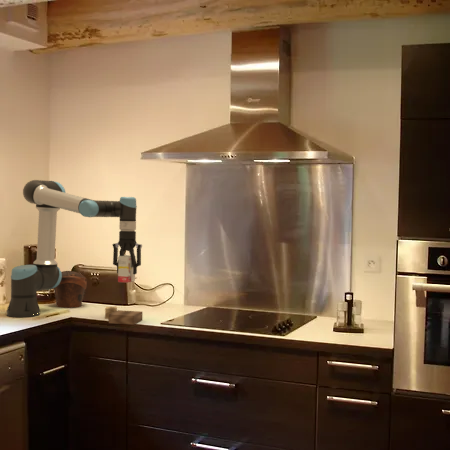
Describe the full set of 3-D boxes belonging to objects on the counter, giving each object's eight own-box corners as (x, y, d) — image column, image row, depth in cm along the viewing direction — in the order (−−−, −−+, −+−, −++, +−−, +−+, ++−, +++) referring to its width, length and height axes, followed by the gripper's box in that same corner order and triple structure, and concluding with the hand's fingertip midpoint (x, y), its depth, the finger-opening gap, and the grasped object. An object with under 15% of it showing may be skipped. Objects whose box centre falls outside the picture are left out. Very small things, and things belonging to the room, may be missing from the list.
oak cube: (105, 318, 295) (105, 308, 295) (106, 317, 300) (106, 306, 300) (115, 318, 295) (116, 308, 295) (116, 317, 300) (117, 306, 300)
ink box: (127, 282, 283) (127, 256, 283) (117, 282, 285) (117, 256, 284) (135, 280, 291) (136, 255, 291) (125, 280, 293) (126, 255, 292)
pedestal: (108, 323, 284) (108, 314, 284) (117, 318, 295) (118, 310, 295) (134, 324, 281) (134, 315, 281) (142, 320, 293) (142, 311, 293)
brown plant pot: (69, 309, 317) (70, 274, 316) (43, 306, 327) (43, 271, 327) (95, 306, 331) (96, 272, 331) (68, 302, 342) (69, 270, 342)
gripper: (105, 230, 285) (104, 281, 286) (144, 231, 282) (143, 282, 283) (111, 229, 293) (110, 279, 293) (149, 230, 289) (148, 281, 290)
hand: (126, 280), depth 288 cm, fingers closed on ink box, 5 cm apart
